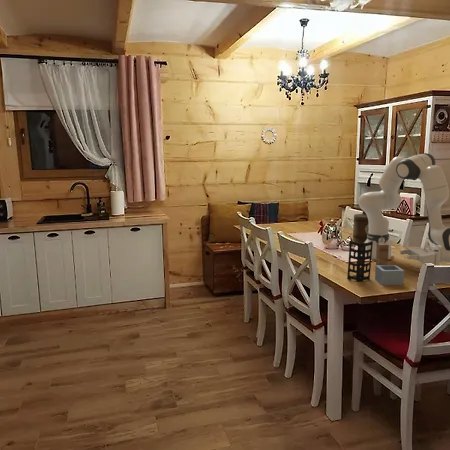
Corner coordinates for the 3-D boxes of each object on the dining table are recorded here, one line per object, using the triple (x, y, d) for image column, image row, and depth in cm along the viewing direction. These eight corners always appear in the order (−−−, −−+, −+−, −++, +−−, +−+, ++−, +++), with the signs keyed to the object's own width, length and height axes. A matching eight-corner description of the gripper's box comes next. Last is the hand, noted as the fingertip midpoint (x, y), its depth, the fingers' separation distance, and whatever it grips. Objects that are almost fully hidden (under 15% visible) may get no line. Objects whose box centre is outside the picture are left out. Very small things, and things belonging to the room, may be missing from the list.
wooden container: (370, 244, 284) (372, 211, 280) (349, 241, 293) (350, 210, 289) (377, 240, 296) (379, 209, 292) (357, 237, 305) (358, 207, 301)
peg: (375, 273, 218) (376, 242, 215) (384, 272, 218) (385, 242, 215) (378, 275, 214) (379, 244, 211) (387, 275, 214) (388, 244, 211)
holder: (367, 276, 212) (369, 238, 207) (373, 282, 205) (375, 243, 199) (345, 277, 212) (347, 239, 206) (350, 283, 205) (352, 244, 199)
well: (374, 279, 208) (375, 265, 207) (395, 278, 208) (395, 264, 207) (382, 285, 198) (382, 271, 197) (403, 284, 198) (404, 270, 197)
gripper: (422, 243, 223) (396, 244, 224) (441, 252, 203) (412, 253, 203) (421, 255, 225) (395, 255, 225) (440, 265, 204) (412, 266, 205)
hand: (404, 254), depth 214 cm, fingers open, 8 cm apart
